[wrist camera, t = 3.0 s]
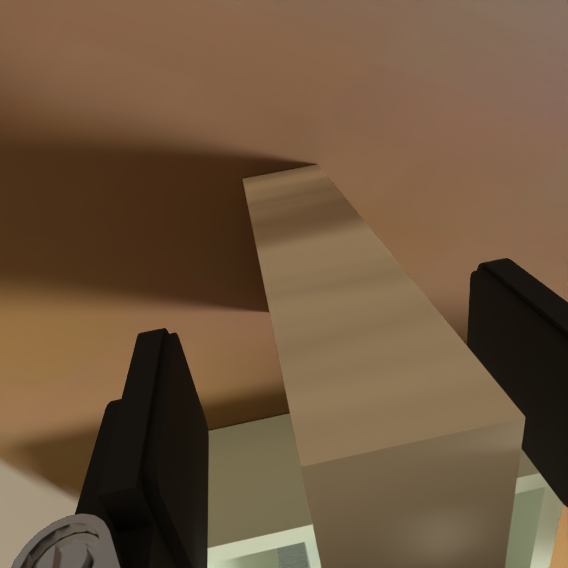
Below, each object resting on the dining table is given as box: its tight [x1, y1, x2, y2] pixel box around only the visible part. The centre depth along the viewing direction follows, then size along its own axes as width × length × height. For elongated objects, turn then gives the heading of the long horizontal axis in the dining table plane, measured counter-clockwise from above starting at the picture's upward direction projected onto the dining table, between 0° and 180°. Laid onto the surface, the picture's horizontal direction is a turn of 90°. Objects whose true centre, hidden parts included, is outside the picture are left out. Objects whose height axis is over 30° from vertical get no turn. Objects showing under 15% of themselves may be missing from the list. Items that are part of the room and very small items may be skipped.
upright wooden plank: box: [243, 164, 526, 568], centre depth 11 cm, size 5×2×11 cm, turn 9°
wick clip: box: [277, 542, 311, 568], centre depth 21 cm, size 4×6×2 cm
